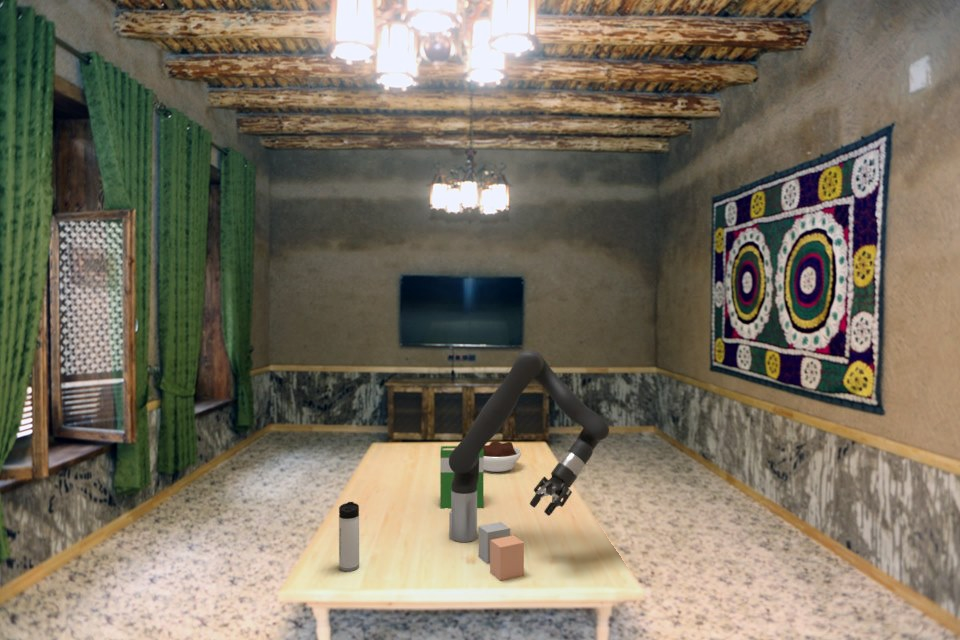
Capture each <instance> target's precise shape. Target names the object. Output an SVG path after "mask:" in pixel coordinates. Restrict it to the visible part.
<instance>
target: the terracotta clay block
mask: <svg viewBox="0 0 960 640" xmlns="http://www.w3.org/2000/svg"><path fill="white" fill-rule="evenodd" d="M524 564H525V542H524V541H522V540H521V539H520V538H518V537H517V536H515V535H514V534H513V535H510V536H508V537H503V538H498V539H493V540H490V563H489V573H490V574H492V576H493V577H495V578H496V579H497V580H499V581H505V580H509V579H513V578H517V577H521V576H524V575H525V568H524V567H525V565H524Z"/></svg>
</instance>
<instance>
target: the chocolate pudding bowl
mask: <svg viewBox="0 0 960 640" xmlns="http://www.w3.org/2000/svg"><path fill="white" fill-rule="evenodd" d="M513 445H514V443H512V442H511V441H506V442H502V443H501V442H500V441H499V440H497V439H493V440H492V441H491V442H490V443H489V444H488V445H486V444H485V446H484V447H483V450H484V471H487V472H493V473H494V472H495V473H499V472H502V473H503V472H507V471H510V470H512V469H513V468H515V466H516V463H517V462H518V461H519V459H520V458H521V457H522V451H521V450H520V449H519V448H517V447H514V446H513Z"/></svg>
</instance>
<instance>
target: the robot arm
mask: <svg viewBox="0 0 960 640" xmlns="http://www.w3.org/2000/svg"><path fill="white" fill-rule="evenodd" d="M533 380H535V381H536V382H537V383H538V384H540V386H541V387H543V389H544V390H545V391H546V392H547V393H548V394H549V396H550V397H551V399H552V400H553V401H554V403H555V404H556V406H557V407H558V408H559V409H560V411H562V412H563V413H564V414H565V415H566V416H567V417H568V418H569V420H571V421H572V422H573V423H575V424H576V423H577V424H579V425H580V427H582V430H581V431H580V433H579V434H578V436H577V438H576V440H575V442H573V444H572V445H571V446H570V447H569V449H568V450H567V452H566V453H565V454H564V455H563V456H562V458H560V460H558V461H559V462H558V463H557V464H556V465H555V467H554V468H553V470H552V471H551V472H550V475H551V477H550V478H549V479H548V478H547V477H546V476H543V477H542V478H541V480H539V482H538V483H537V484H536V486H535V487H534V488H533V492H534V493H535V495H534V496H533V498H532V499H531V500H530V502H529V505H530V506H531V507H533V508H536V507H537V506H538V504H539V503H540V501H541V500H542V499H543V498H545V497H548V496H551V502H549V504H548V505H547V506H546V508H545V509H544V513H545V515H547V516H548V517H549V516H551V515H552V514H553V513H554V511H555V509H556V508H558V507H561V508H563V507H564V505H565V504H566V502H567V501H568V499H569V498H570V497H571V495H572V493H573V491H572V490H571V487H572V485H573V484H574V482H575V481H576V480H577V478H579V476H580V474H581V472H582V471H583V469H584V467H585V465H586V464H587V463H588V461H589V459H590V458H591V457H592V456H593V453H594V449H595V448H596V447H597V445H598V444H599V443H600V441H602V440H605V439H607V437H608V436H609V433H610V426H609V425H608V423H607V422H606V421H605V419H604V418H602V416H600V415H599V414H598V413H596V412H595V411H594V410H592V409H590V408H589V407H587V405H586V404H585V403H584V402H583V400H581V399H580V398H579V397H578V396H577V395H576V394H575V393H574V392H573V390H571V389H570V388H569V387H568V386H567V385H566V384H565V383H564V381H563V382H562V380H561V379H560V378H559V377H558V375H556V373H555V372H554V371H553V370H552V368H551V366H549V364H548V363H547V361H546V360H545V358H544V357H543V356H542V354H541V353H540V352H539V351H537V350H533V349H529V350H525V351H523V352H522V353H520V354H519V355H518V356H517V357H516V359H515V361H514V363H513V364H512V367H511V368H510V371H509V372H508V374H507V376H506V377H505V379H504V380H503V382H502V383H501V384H500V385H499V386H498V388H497V389H495V390H494V392H493V393H492V394H491V396H490V398H488V400H487V402H486V403H485V404H484V406H483V407H482V409H480V412H479V414H478V415H477V416H476V418H475V420H474V421H473V424H472V425H471V426H470V429H469V430H468V432H467V433H466V435H465V436H464V437H463V439H462V440H461V441H460V442H459V443H458V445H456V446H457V447H456V448H455V449H454V450H453V451H452V452H451V454H450V457H449V466H450V468H451V470H452V471H453V472H455V473H454V478H453V481H452V484H451V509H450V512H449V515H448V516H449V518H448V519H449V521H448V522H449V525H448V526H449V531H448V532H449V534H448V535H449V539H450V540H453V541H455V542H459V543H469V542H472V541H473V542H474V541H475V540H476V539H477V538H478V508H477V484H478V480H479V453H480V451H481V450H482V448H483V447H484V446H485V445H486V444H488V442H490V440H491V439H493V437H494V436H496V435H497V433H498V432H499V431H500V430H501V429H502V427H503V426H504V425H505V424H506V422H507V420H509V418H510V416H511V415H512V412H514V409H515V408H516V405H517V404H518V401H519V398H520V397H521V395H522V394H523V392H524V391H525V390H526V388H527V387H528V386H529V385H530V384H531V383H532V381H533Z"/></svg>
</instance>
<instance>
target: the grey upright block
mask: <svg viewBox="0 0 960 640" xmlns="http://www.w3.org/2000/svg"><path fill="white" fill-rule="evenodd" d="M508 536H511V527H509V526H507V525H506V524H505V523H503V522H501V521H499V522H498V521H497V522H494V523H487V524H483V525H478V552H477V553H478V558H480V559H481V560H482V561H483V562H485V563H486V564H487V565H488V564H489V565H490V540H493V539H498V538H503V537H508Z"/></svg>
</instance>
